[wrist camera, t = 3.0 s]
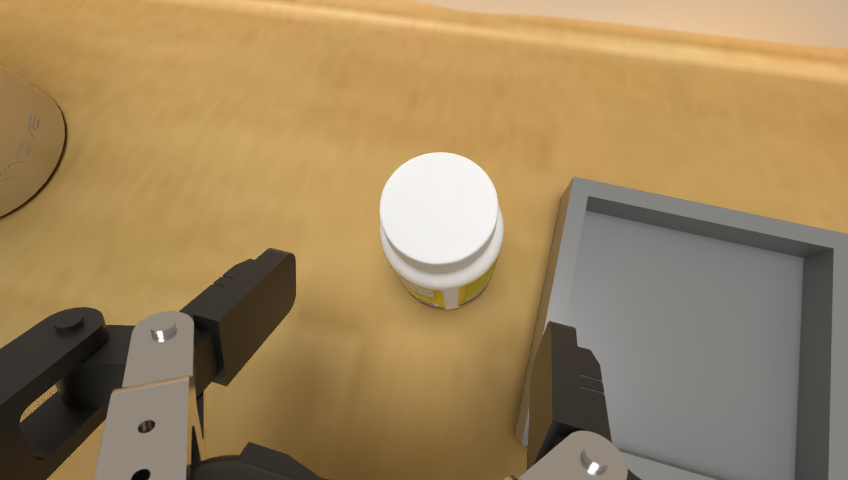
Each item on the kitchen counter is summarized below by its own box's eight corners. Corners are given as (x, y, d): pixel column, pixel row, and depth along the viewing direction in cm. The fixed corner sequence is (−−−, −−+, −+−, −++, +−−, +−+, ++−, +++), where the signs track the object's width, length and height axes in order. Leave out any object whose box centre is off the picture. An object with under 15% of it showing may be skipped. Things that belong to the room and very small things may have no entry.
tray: (513, 435, 20) (521, 444, 18) (561, 196, 23) (573, 176, 21) (799, 520, 18) (851, 542, 16) (809, 250, 21) (854, 235, 19)
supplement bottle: (486, 215, 23) (502, 133, 15) (498, 305, 22) (524, 267, 14) (395, 225, 23) (363, 149, 15) (402, 314, 22) (371, 283, 14)
